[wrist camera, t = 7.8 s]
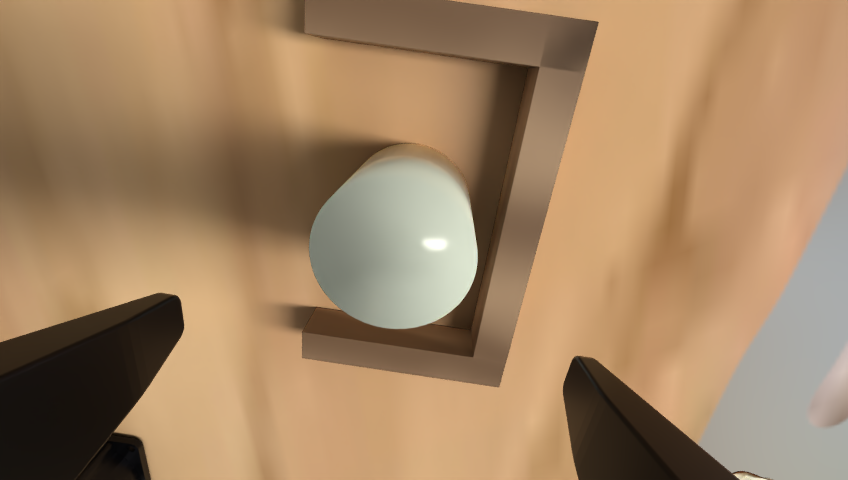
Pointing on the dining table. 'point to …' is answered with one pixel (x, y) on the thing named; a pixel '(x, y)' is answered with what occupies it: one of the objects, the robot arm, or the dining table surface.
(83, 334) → the robot arm
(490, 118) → the dining table surface
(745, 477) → the pie
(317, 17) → the dock
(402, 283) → the white rounded canister
